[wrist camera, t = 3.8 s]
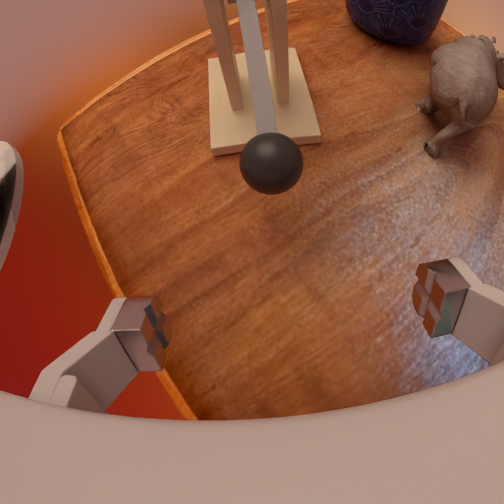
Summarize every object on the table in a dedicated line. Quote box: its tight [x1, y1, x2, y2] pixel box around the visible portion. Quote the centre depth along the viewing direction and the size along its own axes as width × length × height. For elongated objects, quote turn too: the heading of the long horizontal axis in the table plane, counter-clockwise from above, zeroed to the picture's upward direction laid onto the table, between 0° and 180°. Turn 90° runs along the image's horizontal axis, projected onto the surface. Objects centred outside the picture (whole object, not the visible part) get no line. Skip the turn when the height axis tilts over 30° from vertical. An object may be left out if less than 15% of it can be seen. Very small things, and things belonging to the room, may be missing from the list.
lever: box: [228, 0, 303, 195], centre depth 15 cm, size 16×4×4 cm, turn 6°
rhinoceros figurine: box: [416, 35, 504, 158], centre depth 20 cm, size 8×14×15 cm
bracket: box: [203, 0, 321, 156], centre depth 19 cm, size 12×9×15 cm
